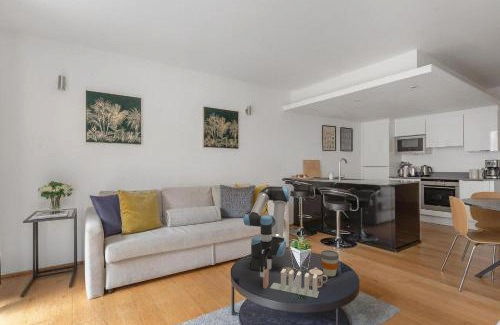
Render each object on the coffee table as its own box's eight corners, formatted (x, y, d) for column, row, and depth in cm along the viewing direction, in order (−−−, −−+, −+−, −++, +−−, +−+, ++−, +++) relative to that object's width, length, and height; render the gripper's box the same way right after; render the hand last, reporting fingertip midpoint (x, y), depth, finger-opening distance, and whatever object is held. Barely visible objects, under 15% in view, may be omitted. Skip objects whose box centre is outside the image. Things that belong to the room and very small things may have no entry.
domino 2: (280, 289, 168) (280, 272, 168) (283, 285, 173) (283, 268, 173) (283, 289, 168) (283, 272, 167) (286, 285, 173) (286, 269, 173)
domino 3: (288, 290, 166) (288, 273, 166) (290, 286, 172) (290, 270, 171) (291, 291, 166) (291, 274, 165) (293, 287, 171) (293, 270, 171)
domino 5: (304, 294, 162) (304, 276, 162) (306, 289, 168) (306, 272, 167) (307, 294, 162) (307, 276, 162) (309, 290, 167) (309, 273, 167)
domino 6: (312, 295, 161) (312, 277, 160) (314, 291, 166) (314, 274, 165) (315, 296, 160) (315, 278, 160) (317, 292, 165) (317, 274, 165)
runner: (269, 288, 170) (269, 287, 170) (273, 283, 177) (273, 282, 177) (317, 298, 158) (317, 297, 158) (319, 292, 166) (319, 291, 166)
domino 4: (296, 292, 164) (296, 274, 164) (298, 288, 170) (298, 271, 169) (299, 293, 164) (299, 275, 163) (301, 288, 169) (301, 271, 169)
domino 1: (262, 288, 170) (263, 272, 170) (265, 285, 175) (265, 268, 175) (265, 289, 169) (266, 272, 169) (268, 285, 174) (268, 269, 174)
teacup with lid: (309, 288, 171) (309, 270, 171) (308, 281, 180) (308, 264, 180) (328, 289, 169) (328, 271, 169) (326, 283, 178) (326, 266, 178)
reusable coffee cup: (335, 269, 199) (335, 250, 199) (341, 277, 187) (341, 256, 187) (318, 270, 199) (318, 250, 199) (323, 277, 187) (323, 256, 186)
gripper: (265, 246, 159) (264, 281, 159) (277, 235, 182) (277, 266, 182) (253, 244, 162) (253, 279, 161) (267, 234, 184) (266, 264, 184)
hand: (265, 272), depth 171 cm, fingers open, 13 cm apart
